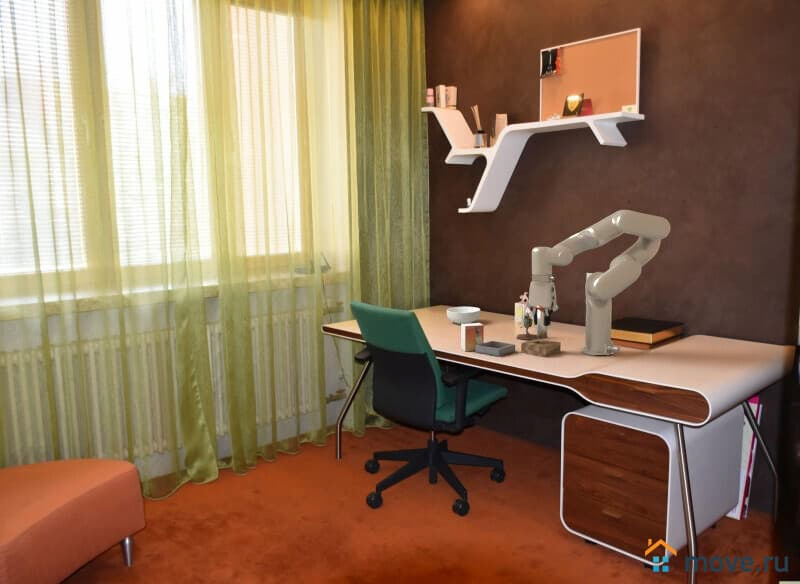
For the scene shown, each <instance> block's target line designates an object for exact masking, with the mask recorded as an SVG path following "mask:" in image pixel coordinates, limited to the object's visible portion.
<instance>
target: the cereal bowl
mask: <svg viewBox="0 0 800 584" xmlns="http://www.w3.org/2000/svg"><path fill="white" fill-rule="evenodd" d="M480 316H481V308H479V307H474V306H455V307H450V308H447V309H446V317H447V319H448V320H449V321H451V322H453V323H455V324H456V323H457V324H456V325H460V324H471V323H475V322H476V321H478V320H479V319H480Z"/></svg>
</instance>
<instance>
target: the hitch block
mask: <svg viewBox="0 0 800 584" xmlns="http://www.w3.org/2000/svg"><path fill="white" fill-rule="evenodd" d="M520 344H521V345H520V346H521V347H520V349H521V351H520V353H521V354H524V353H525V355H531V356H535V357H542V358H546V357H550V356H553V355H555V354H559V353H561V341H556V340H555V341H554V340H548V339H533V340H530V341H523V342H521V343H520Z"/></svg>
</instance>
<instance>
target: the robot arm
mask: <svg viewBox="0 0 800 584" xmlns="http://www.w3.org/2000/svg"><path fill="white" fill-rule="evenodd" d="M670 232H671V223H670V221H668V220H667V218H665V217H662V216H657V215H653V214H648V213H642V212H639V211H636V210H635V211H634V210H630V209H620V210H617V211H614V213H612V214H610V215H608V216H606V217H605V218H603V219H601V220H599V221H598V222H596V223H594V224H592V225H590V226H588V227H587V228H585V229H583V230H581V231H579V232H577V233H575V234H573V235H572V236H569V237H567V238H565V239H564V240H562V241H560V242H558V243H557V244H556V245H554V246H553V247H550V246H549V247H548V246H535V247H533V248H532V250H531V274H532V275H531V282H530V284H529V292H528V301H527V303H526V305H525V306H526V308H528V309H529V311H530V313H532V315H533V325H535V326H537V308H535V307H536V306H540V307H543V308H545V314H546V316H545V317H544V325H545V326H547V327H549V326H550V325H551V323H552V322H551V321H552V317H551V316H552V315H553V313H554V312H556V311H558V310H559V306H558V304H557V294H556V293H557V292H556V287H555V282H553V281H554V280H555V276H553V269H552V268H553V266H557V267H565V266H568V265H569V264H571V263H572V261H573V260H574V257H575V256H577V255H578V254H581V253H583V252H585V251H588V250H592V249H597V248H599V247H602V246H603V245H605V244H607V243H609V242H610V241H612V240H614V239H616V238H618V237H619V236H621V235H623V234H629V235H633V236H637V237H638V238H637V240H636V242H635V243H633V244H632V245H630V247H628V248H627V249H626V250H625V251H623V252H622V253H621V254H619V255H617V256H616V257H615V258H613V260H612V261H610V263H609V269H607V270H606V271H604V272H602V271H596V272H594V273H591V274H590V275H589V276H588V277H587V279H586V281H585V287H584V288H585V290H584V291H585V339H584V340H585V341H584V342H585V343H584V346H583V347H582V348H581V349H580V351H581V353H582V354H584V355H588V356H595V355H607V356H609V355H608V354H612V353H614V352H618V353H619V352H620V350H621V347H620V345H615V344H614V341H612V340H611V339H612V335H611V334H612V311H613V310H612V309H613V308H612V307H613V306H612V305H613V304H612V299H613V298H615V297H616V296H617V295H619V294H620V293H622V292H623V291H625V289H627V288H628V287H630V286H631V285H632V284H634V283H635V282H636V281H637V280H638V279H639V277H640V276H641V273H642V267H644V266H645V265H646V264H647V263H648V262H649V261H651V260H652V259H653V258H654V257H655V256H656V254H657V253H658V251H659V249H660V246H661V243H662V242H661V241H662V240H663V239H665V238H666V237H667V236H669V234H670ZM614 354H615V353H614ZM612 355H613V354H612Z"/></svg>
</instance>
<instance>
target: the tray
mask: <svg viewBox="0 0 800 584" xmlns="http://www.w3.org/2000/svg"><path fill="white" fill-rule="evenodd" d="M515 352H516V344H514V343H509V342H502V341H497V340H490V341H487V342H484V343H482V344H479V345H476V351H475V353H476V354H482V355H486V356H492V357H497V358H501V357H503V356H507V355H510V354H513V353H515Z"/></svg>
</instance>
